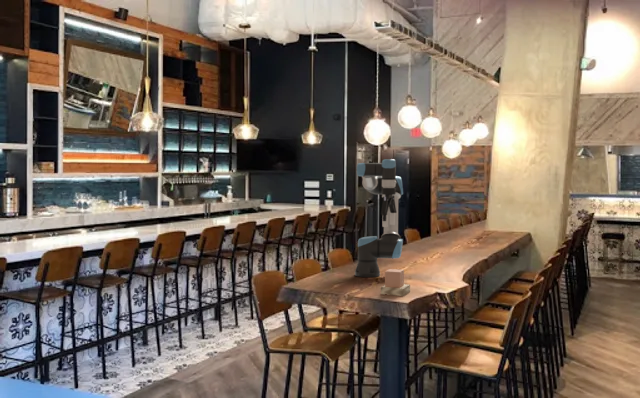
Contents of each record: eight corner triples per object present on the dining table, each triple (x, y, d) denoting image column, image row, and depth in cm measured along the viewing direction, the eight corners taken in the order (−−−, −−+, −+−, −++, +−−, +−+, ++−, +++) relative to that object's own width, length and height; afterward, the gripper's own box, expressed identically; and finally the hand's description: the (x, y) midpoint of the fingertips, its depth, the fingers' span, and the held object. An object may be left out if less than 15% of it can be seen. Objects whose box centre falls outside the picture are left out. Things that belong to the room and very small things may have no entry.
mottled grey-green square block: (380, 294, 321) (380, 287, 321) (387, 290, 332) (387, 283, 332) (403, 296, 316) (403, 288, 316) (410, 292, 327) (410, 284, 327)
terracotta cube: (385, 286, 321) (385, 271, 321) (388, 284, 329) (388, 269, 328) (400, 287, 318) (400, 272, 318) (403, 285, 326) (403, 269, 325)
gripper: (388, 188, 333) (388, 228, 334) (401, 186, 356) (401, 223, 357) (375, 188, 336) (375, 227, 337) (389, 186, 359) (388, 223, 360)
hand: (388, 225), depth 347 cm, fingers open, 13 cm apart
